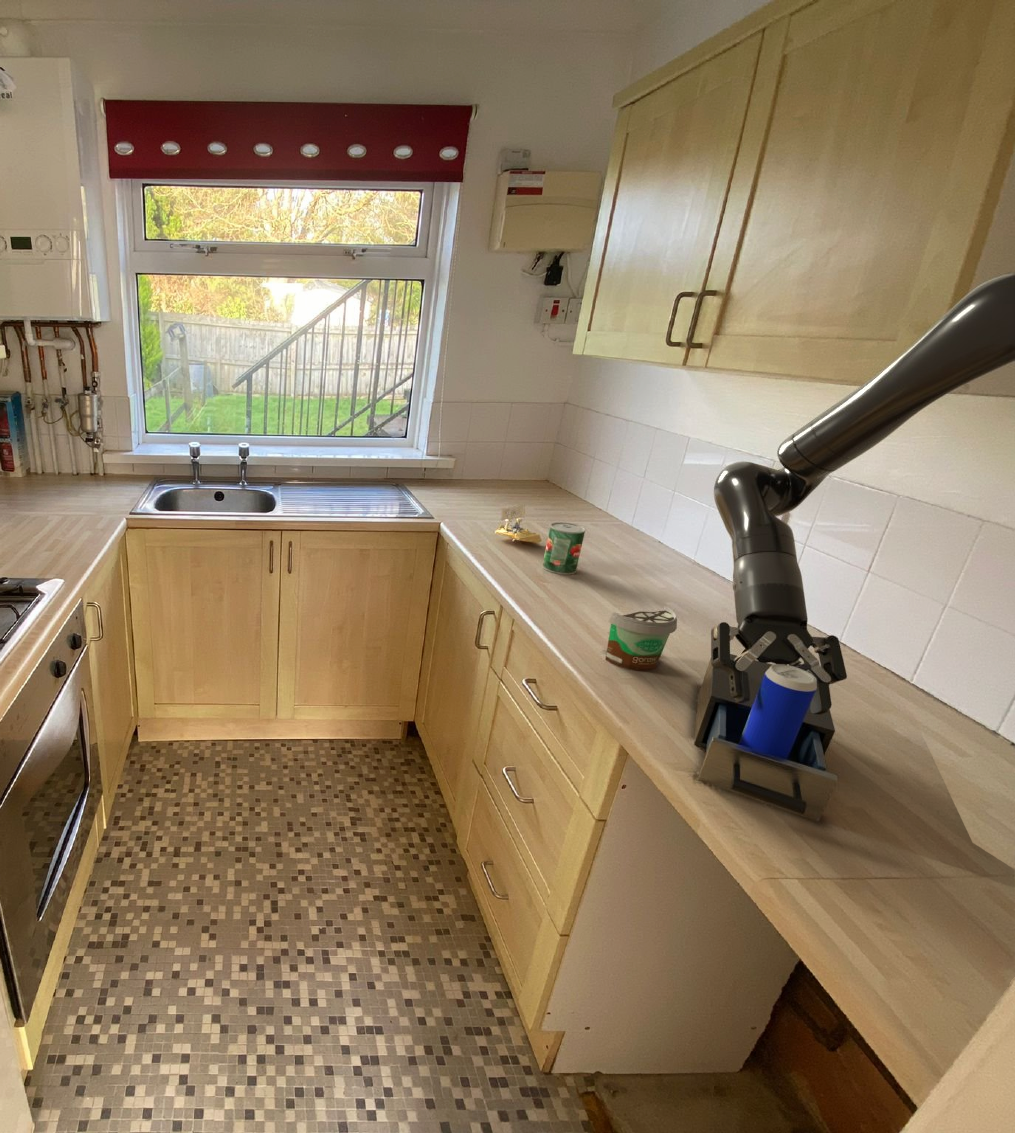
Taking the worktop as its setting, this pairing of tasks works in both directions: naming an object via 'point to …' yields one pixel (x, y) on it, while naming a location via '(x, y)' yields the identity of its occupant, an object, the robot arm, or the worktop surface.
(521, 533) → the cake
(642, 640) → the food container
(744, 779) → the drawer
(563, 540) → the canned tomato
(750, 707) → the cabinet
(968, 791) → the worktop surface
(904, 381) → the robot arm
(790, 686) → the beverage can
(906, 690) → the worktop surface
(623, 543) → the worktop surface
